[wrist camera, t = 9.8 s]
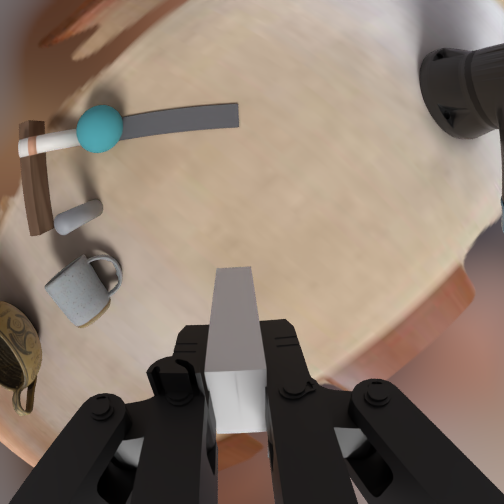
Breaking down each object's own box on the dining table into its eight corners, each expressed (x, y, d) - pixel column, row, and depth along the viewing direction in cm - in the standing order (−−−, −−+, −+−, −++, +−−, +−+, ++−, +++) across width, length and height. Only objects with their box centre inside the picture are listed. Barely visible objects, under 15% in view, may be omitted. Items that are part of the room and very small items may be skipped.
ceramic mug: (89, 312, 40) (70, 339, 33) (60, 270, 37) (35, 292, 30) (137, 284, 39) (120, 311, 32) (105, 237, 37) (81, 255, 29)
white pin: (81, 125, 29) (18, 138, 24) (81, 144, 30) (18, 157, 25) (81, 128, 31) (21, 140, 26) (81, 146, 32) (22, 158, 27)
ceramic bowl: (-23, 297, 38) (-64, 333, 24) (5, 258, 36) (-49, 295, 22) (40, 378, 45) (11, 424, 31) (79, 356, 43) (45, 413, 29)
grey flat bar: (237, 104, 32) (238, 103, 32) (238, 127, 33) (239, 127, 33) (114, 119, 31) (113, 119, 31) (115, 141, 32) (114, 141, 32)
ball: (73, 113, 28) (115, 109, 32) (74, 158, 30) (115, 152, 34) (80, 101, 24) (129, 98, 28) (81, 153, 26) (130, 147, 30)
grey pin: (101, 198, 34) (68, 212, 26) (104, 215, 35) (72, 234, 27) (87, 200, 34) (52, 214, 26) (89, 217, 35) (56, 235, 27)
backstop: (44, 121, 30) (28, 120, 26) (54, 227, 35) (40, 235, 31) (34, 124, 30) (19, 124, 26) (45, 228, 35) (30, 236, 31)
